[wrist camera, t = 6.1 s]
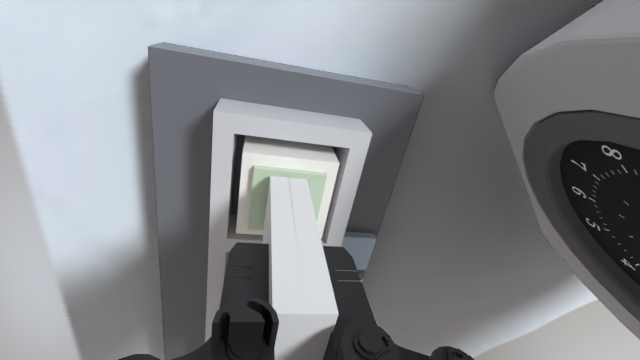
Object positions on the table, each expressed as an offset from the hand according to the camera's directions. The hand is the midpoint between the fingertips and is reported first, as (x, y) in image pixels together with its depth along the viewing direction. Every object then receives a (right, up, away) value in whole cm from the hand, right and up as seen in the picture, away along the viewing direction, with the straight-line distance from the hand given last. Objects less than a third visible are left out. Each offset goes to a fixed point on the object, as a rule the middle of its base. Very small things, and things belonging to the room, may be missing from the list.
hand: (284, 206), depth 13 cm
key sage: (0, +1, +2) cm, 3 cm away
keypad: (-2, -3, +7) cm, 8 cm away
